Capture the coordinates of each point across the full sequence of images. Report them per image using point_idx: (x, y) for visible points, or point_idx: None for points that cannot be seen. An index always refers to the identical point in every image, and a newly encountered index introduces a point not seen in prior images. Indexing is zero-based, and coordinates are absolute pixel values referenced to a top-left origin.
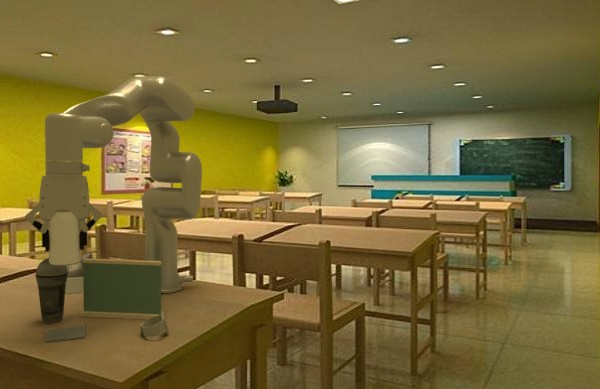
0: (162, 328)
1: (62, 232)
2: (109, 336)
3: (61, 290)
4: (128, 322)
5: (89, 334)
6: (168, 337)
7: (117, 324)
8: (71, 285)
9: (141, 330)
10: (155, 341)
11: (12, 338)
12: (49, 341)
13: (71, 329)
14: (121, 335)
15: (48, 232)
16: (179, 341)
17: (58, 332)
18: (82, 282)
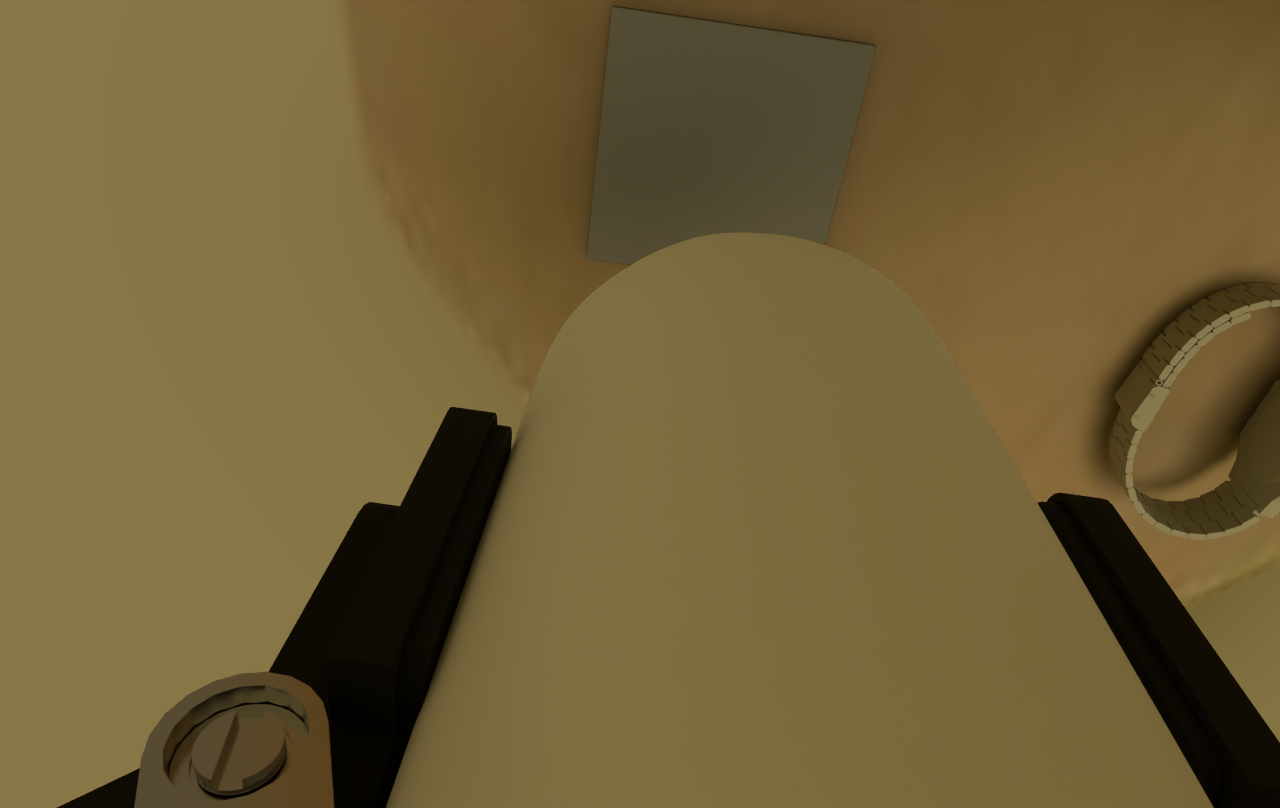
0: (1214, 512)
1: None
2: (949, 316)
3: None
4: (1193, 68)
5: (854, 222)
6: (1220, 476)
7: (1099, 82)
8: None
9: (1127, 406)
10: (1126, 499)
11: (392, 71)
12: (613, 259)
13: (764, 100)
14: (1017, 330)
15: (394, 776)
16: (1226, 548)
17: (674, 127)
18: None
